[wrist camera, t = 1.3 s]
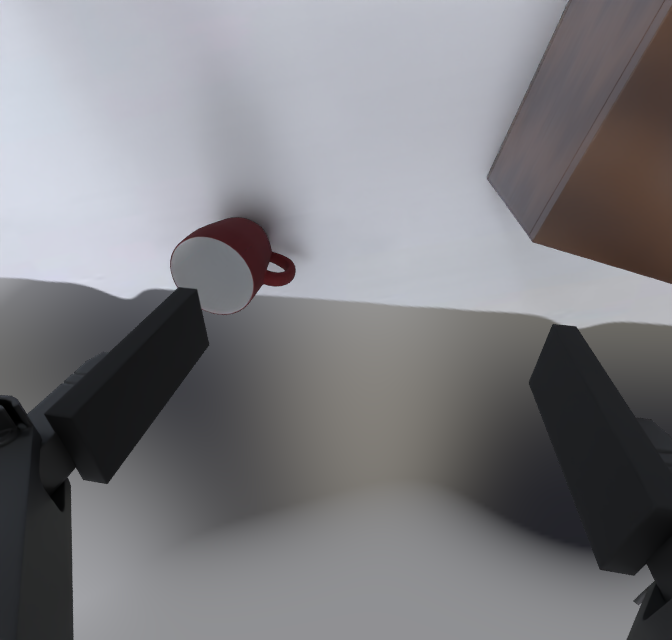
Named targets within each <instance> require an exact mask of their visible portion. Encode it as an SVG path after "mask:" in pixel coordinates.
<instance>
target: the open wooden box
mask: <svg viewBox="0 0 672 640" xmlns="http://www.w3.org/2000/svg"><path fill="white" fill-rule="evenodd" d="M487 179H488V181H489V182H490V183H491V185H492V186H493V188H494V189H495V190H496V192H497V193H498V195H499V196H500V197H501V199H502V200H503V201H504V203H505V204H506V206H507V207H508V208H509V210H510V211H511V213H512V214H513V215H514V217H515V218H516V220H517V221H518V222H519V224H520V225H521V226H522V228H523V229H524V231H525V232H526V233H527V235H528V236H529V238H530V239H531V241H532V242H534V243H537V244H541V245H544V246H547V247H551V248H554V249H557V250H561V251H564V252H567V253H571V254H574V255H577V256H581V257H584V258H587V259H591V260H594V261H597V262H601V263H604V264H607V265H611V266H614V267H617V268H620V269H624V270H627V271H630V272H634V273H637V274H640V275H644V276H647V277H650V278H654V279H657V280H660V281H664V282H667V283H670V284H672V0H569V2H568V4H567V6H566V8H565V10H564V12H563V15H562V17H561V19H560V21H559V23H558V25H557V27H556V30H555V32H554V34H553V36H552V38H551V40H550V43H549V45H548V47H547V49H546V51H545V53H544V55H543V58H542V60H541V62H540V64H539V66H538V68H537V71H536V73H535V75H534V77H533V79H532V81H531V83H530V86H529V88H528V90H527V92H526V94H525V96H524V99H523V101H522V103H521V105H520V107H519V109H518V111H517V114H516V116H515V118H514V120H513V122H512V124H511V127H510V129H509V131H508V133H507V135H506V137H505V139H504V142H503V144H502V146H501V148H500V150H499V152H498V155H497V157H496V159H495V161H494V163H493V165H492V168H491V170H490V172H489V174H488V176H487Z"/></svg>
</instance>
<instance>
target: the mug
mask: <svg viewBox="0 0 672 640" xmlns="http://www.w3.org/2000/svg"><path fill="white" fill-rule="evenodd" d="M269 262H272V263H274V264H276V265H278V266H280V267H281V268H283V269H284V270H285V272H280V273H277V272H271V271H268V270H267V267H268V264H269ZM170 269H171V274H172V277H173V280H174V282H175V284H176V286H177V288H178V287H183V288H193V289H197V290H198V295H199V300H200V304H201V309H202V310H204V311H207V312H210V313H213V314H221V315H227V314H233V313H236V312H239V311H240V310H242V309H243V308H245V307H246V306H247V305H248V304H249V303H250V301H251V300H252V299H253V297H254V296H255V295H256V293H257V292H258V290H259V289H260V288H261V286H262V285H263V284H266V285H269V286H283V285H286V284H288V283H290V282H291V281H292V280H293V278H294V276H295V271H296V269H295V265H294V263H293V262H292V261H291V260H290V259H289V258H287V257H285V256H283V255H281V254H278V253H275V252H272V251H271V247H270V243H269V240H268V237H267V235H266V233H265V231H264V230H263V229H262V228H261V227H260V226H259V225H258V224H257V223H255V222H253V221H251V220H248V219H245V218H239V217H234V218H228V219H224V220H221V221H218V222H215V223H212V224H209V225H207V226H204V227H202V228H200V229H198V230H196V231H194V232H193V233H191V234H190V235H189V236H187V237H186V238H185V239H184V240H182V241H181V242H180V243H179V244H178V245H177V246H176V248H175V249H174V251H173V253H172V256H171V260H170Z"/></svg>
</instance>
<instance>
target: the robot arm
mask: <svg viewBox="0 0 672 640" xmlns="http://www.w3.org/2000/svg"><path fill="white" fill-rule="evenodd" d="M208 346H209V341H208V337H207V332H206V328H205V323H204V318H203V314H202V309H201V304H200V300H199V295H198V290H197V289H193V288H183V287H178V288H177V289H176V290H175V291H174V292H173V293H172V294H171V295H170V296H169V297H168V298H167V299H166V300H165V301H164V302H162V303H161V304H160V305H159V306H158V307H157V308H156V309H155V310H154V311H153V312H152V313H151V314H150V315H149V316H148V317H146V318H145V319H144V320H143V321H142V322H141V323H140V324H139V325H138V326H137V327H136V328H135V329H134V330H133V331H132V332H130V334H128V335H127V336H126V337H125V338H124V339H123V340H122V341H121V342H120V343H119V344H118V345H117V346H115V347H114V348H113V349H112V350H111V351H110V352H102V353H100V354H98V355H97V356H95V357H93V358H91V359H89V360H87V361H86V362H85V363H84V364H83V365H82V366H80V367H79V368H78V369H77V370H76V371H75V372H74V374H72V375H70V377H68V378H67V379H66V380H65V381H64V384H60V385H59V386H58V387H57V388H56V389H55V390H54V391H53V392H52V393H50V394H49V395H48V396H47V397H46V398H45V399H44V400H43V401H42V402H40V403H39V404H38V405H37V406H36V407H35V408H34V409H33V410H32V411H30V412H29V413H28V414H27V413H26V412H25V410H24V409H23V407H22V406H21V404H20V402H19V401H18V399H16V398H15V397H13V396H5V395H0V640H73V590H72V589H73V588H72V530H71V485H70V482H69V479H68V478H67V477H68V476H69V475H70V474H71V472H72V471H73V470H74V469H75V468H76V469H77V470H78V472H79V474H80V475H81V477H82V479H83V480H87V481H93V482H98V483H104V484H108V483H109V481H110V480H111V479H112V477H113V476H114V474H115V473H116V472H117V470H118V469H119V468H120V466H121V465H122V463H123V462H124V461H125V459H126V458H127V457H128V455H129V454H130V452H131V451H132V450H133V448H134V447H135V446H136V444H137V443H138V442H139V440H140V439H141V437H142V436H143V435H144V433H145V432H146V431H147V429H148V428H149V427H150V425H151V424H152V422H153V421H154V420H155V418H156V417H157V416H158V414H159V413H160V412H161V410H162V409H163V407H164V406H165V405H166V403H167V402H168V401H169V399H170V398H171V397H172V395H173V394H174V392H175V391H176V390H177V388H178V387H179V386H180V384H181V383H182V381H183V380H184V379H185V377H186V376H187V375H188V373H189V372H190V371H191V369H192V368H193V366H194V365H195V364H196V362H197V361H198V360H199V358H200V357H201V355H202V354H203V353H204V351H205V350H206V348H207V347H208ZM529 385H530V388H531V390H532V393H533V395H534V398H535V401H536V403H537V405H538V409H539V411H540V414H541V416H542V419H543V422H544V424H545V427H546V430H547V432H548V435H549V437H550V440H551V443H552V445H553V447H554V451H555V453H556V456H557V458H558V461H559V464H560V466H561V469H562V472H563V474H564V477H565V479H566V482H567V485H568V487H569V490H570V493H571V495H572V497H573V500H574V503H575V506H576V508H577V511H578V513H579V516H580V518H581V521H582V524H583V526H584V529H585V532H586V534H587V537H588V540H589V542H590V545H591V547H592V550H593V553H594V555H595V558H596V561H597V563H598V566H599V569H600V570H605V571H610V572H616V573H622V574H628V575H635V574H636V573H637V572H638V571H639V570H640V569H641V568H642V567H643V566H644V565H645V564H646V563H647V565H648V568H649V570H650V571H651V574H652V576H653V578H654V580H655V581H654V582H653V583H652V584H651V585H650V586H648V587H647V588H646V589H645V590H644V591H643V592H642V593H641V594H640V595H639V596H638V597H637V598H636V599H635V600H634V602H635V603H636V604H638V605H639V604H641V603H642V604H641V606H640V609H639V611H638V614H637V616H636V618H635V621H634V623H633V626H632V628H631V631H630V633H629V636H628V638H627V640H672V438H671V437H670V435H669V434H667V433H666V432H665V431H664V430H663V429H662V428H660V427H659V426H658V425H657V424H656V423H654V422H653V421H652V420H651V419H643V418H635V416H634V415H633V413H632V411H631V410H630V409H629V407H628V405H627V404H626V402H625V401H624V399H623V398H622V396H621V395H620V393H619V392H618V390H617V388H616V387H615V385H614V384H613V382H612V381H611V379H610V378H609V376H608V375H607V373H606V372H605V370H604V369H603V367H602V366H601V364H600V362H599V361H598V359H597V358H596V356H595V355H594V353H593V352H592V350H591V349H590V347H589V346H588V344H587V342H586V341H585V339H584V338H583V336H582V335H581V333H580V332H579V330H578V329H577V327H576V326H567V325H556V324H553V325H552V327H551V329H550V332H549V334H548V337H547V339H546V342H545V344H544V347H543V349H542V352H541V354H540V356H539V359H538V361H537V364H536V366H535V369H534V371H533V374H532V376H531V378H530V381H529Z"/></svg>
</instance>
